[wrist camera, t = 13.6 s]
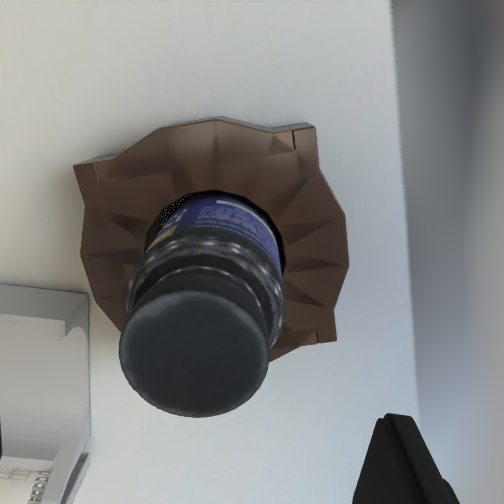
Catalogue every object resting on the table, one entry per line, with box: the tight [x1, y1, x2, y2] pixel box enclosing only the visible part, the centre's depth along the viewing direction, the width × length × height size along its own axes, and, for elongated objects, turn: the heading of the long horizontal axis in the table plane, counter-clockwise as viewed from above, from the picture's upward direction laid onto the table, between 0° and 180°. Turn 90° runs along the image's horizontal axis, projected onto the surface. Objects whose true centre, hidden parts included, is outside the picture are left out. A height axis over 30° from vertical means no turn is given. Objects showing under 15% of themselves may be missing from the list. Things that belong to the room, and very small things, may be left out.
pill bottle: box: [119, 190, 286, 418], centre depth 18 cm, size 6×6×11 cm
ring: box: [73, 116, 349, 362], centre depth 22 cm, size 13×13×3 cm
